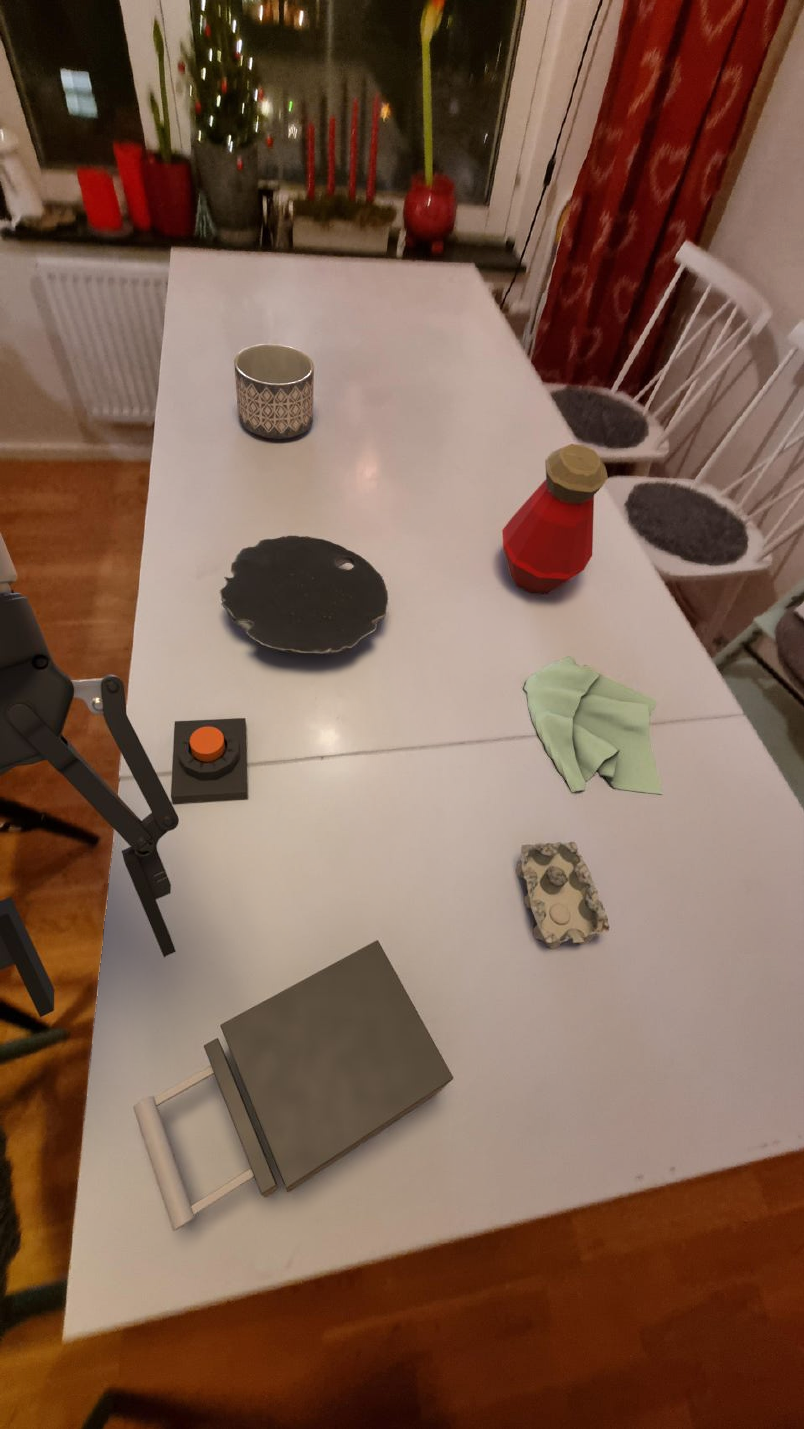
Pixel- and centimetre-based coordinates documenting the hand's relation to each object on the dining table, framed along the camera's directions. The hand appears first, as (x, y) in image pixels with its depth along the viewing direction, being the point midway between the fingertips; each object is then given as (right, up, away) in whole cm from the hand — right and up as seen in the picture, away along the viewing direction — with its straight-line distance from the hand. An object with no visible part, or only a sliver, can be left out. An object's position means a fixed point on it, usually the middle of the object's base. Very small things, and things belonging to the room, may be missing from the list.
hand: (108, 972), depth 42 cm
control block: (-4, +10, +37) cm, 39 cm away
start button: (-4, +12, +35) cm, 37 cm away
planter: (-4, +66, +78) cm, 103 cm away
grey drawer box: (+12, -16, +20) cm, 29 cm away
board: (+5, +29, +53) cm, 60 cm away
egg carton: (+34, -4, +33) cm, 47 cm away
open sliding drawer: (+7, -18, +17) cm, 26 cm away
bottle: (+38, +37, +64) cm, 83 cm away
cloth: (+42, +13, +47) cm, 65 cm away
